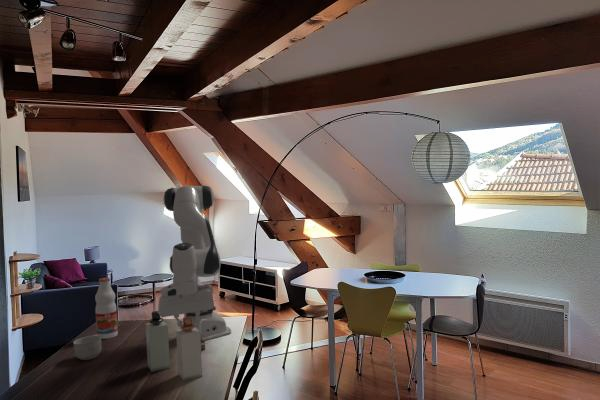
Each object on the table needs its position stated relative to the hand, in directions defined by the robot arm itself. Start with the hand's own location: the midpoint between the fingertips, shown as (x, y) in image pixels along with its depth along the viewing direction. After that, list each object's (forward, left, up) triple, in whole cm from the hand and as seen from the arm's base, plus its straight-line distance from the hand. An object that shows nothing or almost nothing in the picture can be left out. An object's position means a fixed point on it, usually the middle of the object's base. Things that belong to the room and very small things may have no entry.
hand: (187, 324), depth 182 cm
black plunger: (+8, -16, -16) cm, 24 cm away
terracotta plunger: (0, 0, -16) cm, 16 cm away
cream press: (0, 0, -19) cm, 19 cm away
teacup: (+30, -46, -20) cm, 58 cm away
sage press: (+8, -16, -19) cm, 26 cm away
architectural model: (-11, -26, -20) cm, 34 cm away
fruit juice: (+20, -72, -19) cm, 77 cm away
